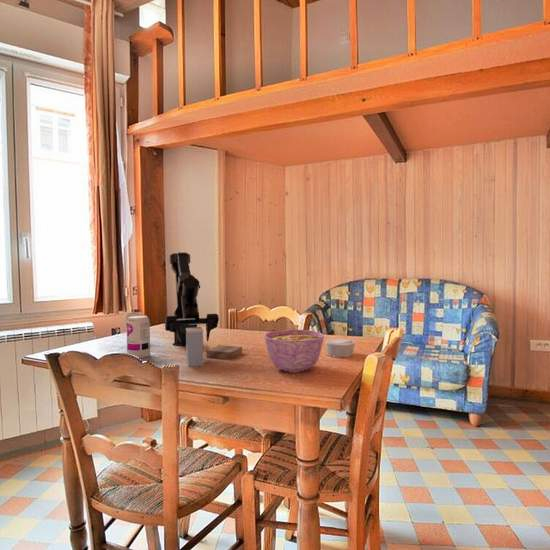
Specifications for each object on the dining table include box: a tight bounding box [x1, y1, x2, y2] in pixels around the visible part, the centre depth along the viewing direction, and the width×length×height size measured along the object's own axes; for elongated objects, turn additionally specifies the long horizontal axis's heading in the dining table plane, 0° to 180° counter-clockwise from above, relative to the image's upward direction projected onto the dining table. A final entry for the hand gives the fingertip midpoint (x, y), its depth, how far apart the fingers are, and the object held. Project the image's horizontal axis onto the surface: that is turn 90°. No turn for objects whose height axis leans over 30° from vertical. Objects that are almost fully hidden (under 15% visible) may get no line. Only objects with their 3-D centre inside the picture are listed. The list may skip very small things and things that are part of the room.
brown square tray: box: [205, 344, 243, 360], centre depth 170 cm, size 10×10×3 cm
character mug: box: [124, 311, 143, 329], centre depth 192 cm, size 11×7×13 cm, turn 43°
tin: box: [185, 326, 205, 367], centre depth 157 cm, size 5×5×12 cm
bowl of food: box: [263, 329, 325, 373], centre depth 149 cm, size 20×20×12 cm
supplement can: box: [126, 314, 151, 359], centre depth 169 cm, size 8×8×15 cm
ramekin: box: [324, 338, 356, 358], centre depth 169 cm, size 11×11×5 cm
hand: (194, 341), depth 156 cm, fingers open, 9 cm apart
